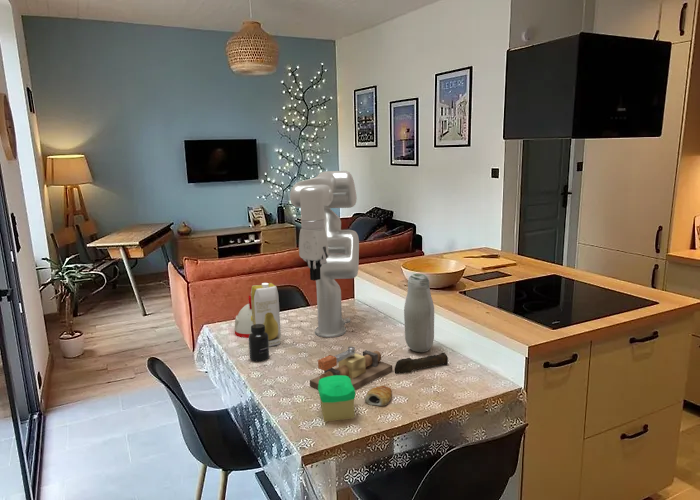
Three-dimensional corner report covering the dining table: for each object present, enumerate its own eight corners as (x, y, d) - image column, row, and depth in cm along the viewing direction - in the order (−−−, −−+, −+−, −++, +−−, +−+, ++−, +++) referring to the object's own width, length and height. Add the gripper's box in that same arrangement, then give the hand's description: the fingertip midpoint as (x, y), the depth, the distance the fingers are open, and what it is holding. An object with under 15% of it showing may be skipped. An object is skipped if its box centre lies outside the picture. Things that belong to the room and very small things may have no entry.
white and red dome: (235, 339, 199) (232, 302, 196) (234, 328, 212) (231, 293, 209) (271, 335, 202) (268, 299, 199) (268, 324, 215) (266, 290, 212)
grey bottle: (439, 349, 183) (439, 273, 177) (422, 358, 176) (422, 279, 170) (416, 343, 190) (415, 269, 184) (399, 351, 182) (398, 275, 177)
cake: (322, 425, 135) (320, 390, 133) (317, 405, 145) (316, 373, 143) (358, 420, 137) (357, 386, 135) (351, 402, 147) (350, 369, 145)
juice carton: (259, 350, 188) (254, 286, 183) (252, 343, 195) (248, 282, 190) (283, 344, 192) (279, 283, 187) (276, 338, 199) (272, 278, 194)
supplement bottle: (265, 362, 176) (263, 329, 174) (246, 361, 177) (244, 329, 175) (272, 355, 183) (270, 323, 180) (254, 354, 184) (252, 322, 182)
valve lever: (350, 354, 162) (350, 345, 162) (357, 356, 160) (357, 347, 160) (318, 368, 152) (317, 359, 152) (324, 371, 150) (324, 362, 150)
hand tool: (442, 361, 173) (442, 348, 172) (448, 366, 169) (448, 353, 168) (391, 371, 167) (391, 358, 166) (396, 376, 163) (396, 362, 162)
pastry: (376, 390, 154) (376, 378, 153) (397, 394, 151) (397, 382, 150) (363, 404, 146) (363, 391, 145) (385, 409, 143) (384, 396, 142)
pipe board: (365, 361, 175) (365, 341, 173) (392, 371, 166) (392, 350, 165) (310, 386, 157) (308, 364, 156) (336, 398, 149) (335, 375, 148)
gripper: (289, 224, 169) (292, 278, 173) (319, 228, 159) (322, 285, 162) (306, 221, 174) (309, 274, 178) (337, 225, 164) (339, 280, 168)
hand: (315, 279), depth 170 cm, fingers closed
